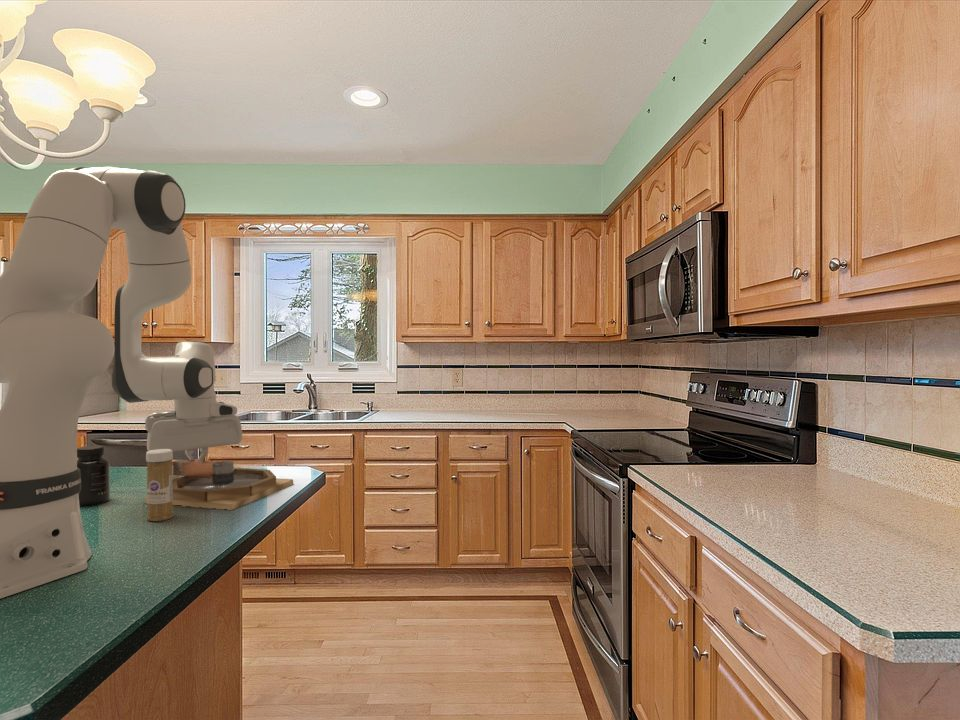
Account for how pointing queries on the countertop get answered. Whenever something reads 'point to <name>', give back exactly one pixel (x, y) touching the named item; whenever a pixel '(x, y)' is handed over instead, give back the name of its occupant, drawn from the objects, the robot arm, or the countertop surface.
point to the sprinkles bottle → (159, 484)
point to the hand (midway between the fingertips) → (197, 467)
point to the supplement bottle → (93, 475)
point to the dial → (212, 474)
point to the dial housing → (227, 491)
